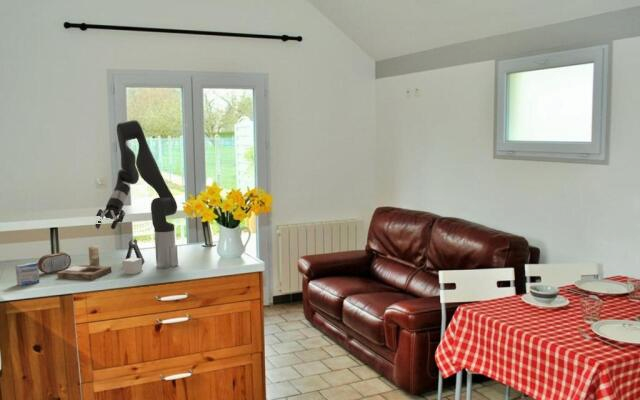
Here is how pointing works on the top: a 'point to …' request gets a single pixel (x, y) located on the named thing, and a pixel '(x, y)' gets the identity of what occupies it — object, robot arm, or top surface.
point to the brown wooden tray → (85, 272)
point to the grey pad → (75, 268)
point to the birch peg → (94, 256)
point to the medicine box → (27, 273)
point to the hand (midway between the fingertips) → (104, 228)
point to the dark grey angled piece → (136, 249)
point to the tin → (54, 262)
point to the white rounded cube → (132, 265)
